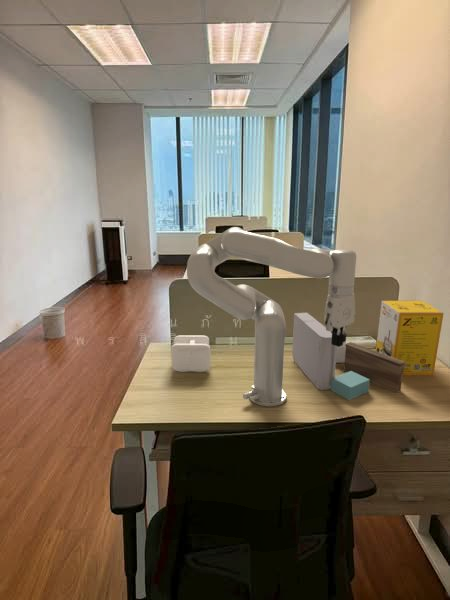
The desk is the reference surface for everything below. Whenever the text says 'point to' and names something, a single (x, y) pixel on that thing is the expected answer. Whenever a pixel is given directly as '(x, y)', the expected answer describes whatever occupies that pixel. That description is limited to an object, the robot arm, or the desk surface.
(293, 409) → the desk surface
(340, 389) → the teal block
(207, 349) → the cable organizer
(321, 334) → the game console
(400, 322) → the packaging box
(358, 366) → the walnut board
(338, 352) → the medicine bottle
